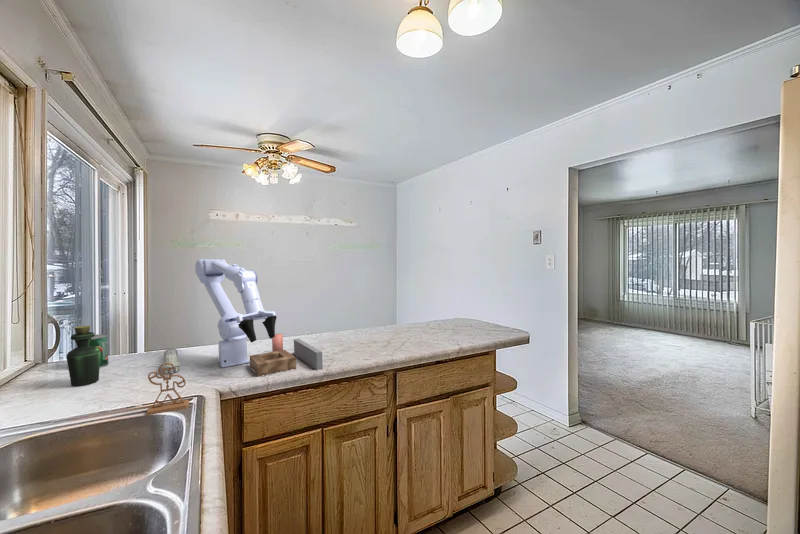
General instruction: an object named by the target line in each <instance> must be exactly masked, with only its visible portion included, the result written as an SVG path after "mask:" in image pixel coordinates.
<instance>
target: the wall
mask: <svg viewBox="0 0 800 534" xmlns="http://www.w3.org/2000/svg"><path fill="white" fill-rule="evenodd" d="M294 354H295V357H296V358H299V359H300V360H301V361H303V362H305V363H306V364H308V365H309V366H311V367H312V368H313V369H315V370H316V371H320V370H323V351H322V350H320V349H318V348H316V347H314V346H313V345H311V344H309V343H307V342H305V341H303V340H302V339H300V338H294V339H293V355H294Z"/></svg>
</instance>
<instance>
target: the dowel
mask: <svg viewBox="0 0 800 534" xmlns="http://www.w3.org/2000/svg"><path fill="white" fill-rule="evenodd" d="M283 338H284V335H283V333H275V337H273V338H272V339H271V348H272V350H271V352H275V351H281V350H284V339H283Z"/></svg>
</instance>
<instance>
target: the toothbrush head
mask: <svg viewBox="0 0 800 534" xmlns="http://www.w3.org/2000/svg"><path fill="white" fill-rule="evenodd" d="M178 355H179V353H178V350H177V349H176V348H174V347H170V348H169V347H167V348H166V350H165V351H163V357H164V362H163V364H165V363H171V364H173V365H174V366H175V372H174V373H178V372H180V366H181V362H179V360H178ZM163 364H162V365H163ZM169 367H171V368H173V366H171V365H168V364H167V365H163V366H162V367H161V368H162V369H163V368H166V369H168V368H169ZM171 371H172V372H171ZM173 371H174V369H171V370H170V371H168V370H165V371H162V372H164V373H170V372H171V373H170V374H172V373H173Z"/></svg>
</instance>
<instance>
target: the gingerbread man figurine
mask: <svg viewBox="0 0 800 534" xmlns="http://www.w3.org/2000/svg"><path fill="white" fill-rule="evenodd" d="M167 364H168V365H171V366H173V368H171V367H169V368H168V369H166V368H162V366H163V365H167ZM161 368H162V369H161ZM171 369H174V371H173V373H171V372H172V371H171V372H170V373H164V372H163V371H165V370H168V371H170V370H171ZM175 373H176V372H175V366H174V365H173V364H171V363H165V364H164V363H163V364H161V365H160V366H159V368H158V373H157V372H156V371H151V372H149V373H148V375H147V378H148V381H149V383H151V384H153V385H156V386H159V387H160V390H159V391H160V393H159V394H158V396H157V397H156V399H155V401H154V403H153V404H152V405H149V407H148V408H147V410H146V412H145V413H146V416H151V415H156V414H163V413H168V412H173V411H179V410H180V411H181V410H186V409H188V408H189V405H190V400H189V399H183V397H182V396H181V395H180V394H179V393H178V391H177V390H176V387H175V384H176V386H177V388H180V389H181V388H184V387H185V386H186V382H187V381H186V378H184V376H182V375H179V374H175ZM152 374H154V375H153V376H150V375H152ZM173 377H174V378H175V377H177V378H178V377H179V378H181V380H182V381H181V380H180V381H179V382H178V380H177V381H176V380H175V381H172V388H169V387H170V385H169V383H170V382H169V381H171V380H172V378H173ZM154 378H156V379H162V380H163V382H165V384H166V387H165V388H166V389H165V388H164V389H163V382H158V383H157V382H154V381H153V380H152V379H154ZM181 384H183V385H181ZM170 391H171V392H172V391H173V392H174V394H175V395H177V397H176V398H175V399H174V398H173V397H172V396H171V395H170V393H167V394H166V396H165V398H164V400H163V401H160V400H158V399H159V397H160V396H161V394H162V393H163V392H170ZM167 398H169V400H170V402H165V401H166V399H167Z"/></svg>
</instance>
